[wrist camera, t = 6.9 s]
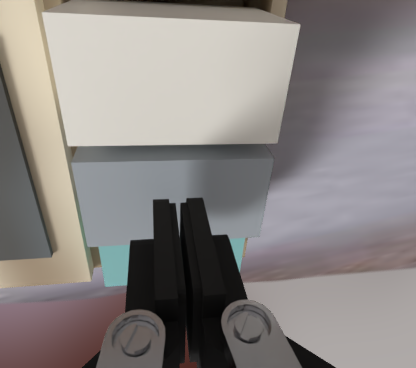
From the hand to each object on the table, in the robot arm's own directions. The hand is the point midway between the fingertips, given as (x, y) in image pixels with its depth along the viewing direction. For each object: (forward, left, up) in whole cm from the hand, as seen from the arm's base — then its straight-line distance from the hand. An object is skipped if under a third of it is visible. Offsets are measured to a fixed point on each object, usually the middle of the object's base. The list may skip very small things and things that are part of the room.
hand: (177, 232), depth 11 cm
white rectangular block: (0, -5, -6) cm, 8 cm away
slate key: (0, 0, -6) cm, 6 cm away
